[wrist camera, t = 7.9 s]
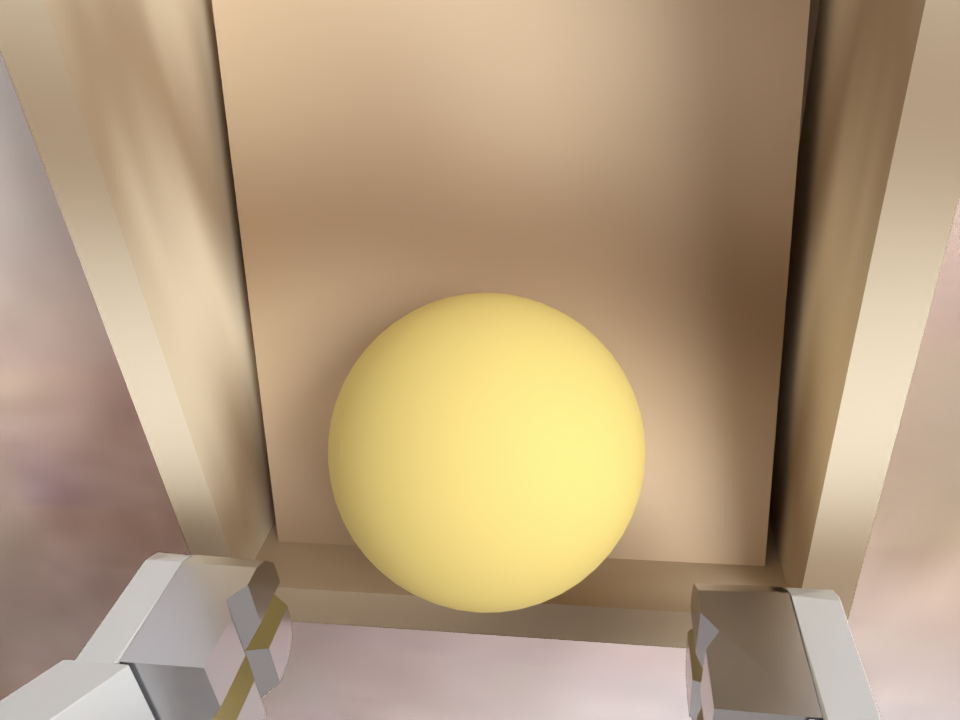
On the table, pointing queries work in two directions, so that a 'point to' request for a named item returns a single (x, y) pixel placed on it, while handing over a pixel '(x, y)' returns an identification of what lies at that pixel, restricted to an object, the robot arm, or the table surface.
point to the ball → (486, 452)
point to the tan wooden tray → (513, 254)
